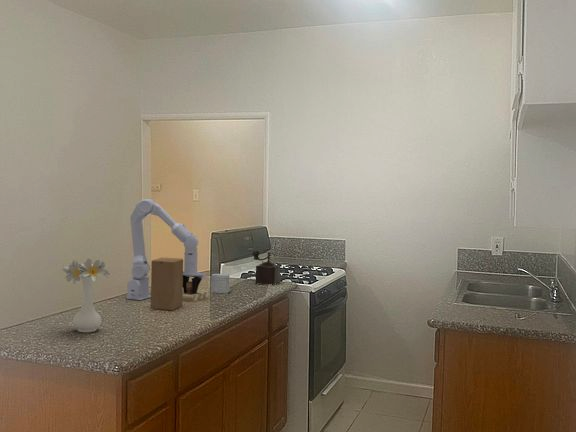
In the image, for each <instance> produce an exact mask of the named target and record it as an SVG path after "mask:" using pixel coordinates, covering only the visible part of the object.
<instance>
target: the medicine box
mask: <svg viewBox="0 0 576 432" xmlns="http://www.w3.org/2000/svg"><path fill="white" fill-rule="evenodd" d="M210 283H211V284H210V287H211V289H210V292H211V294H229V292H230V274H227V273H226V274H225V273H213V274H212V275H211V281H210Z"/></svg>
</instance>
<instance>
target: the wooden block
mask: <svg viewBox="0 0 576 432" xmlns="http://www.w3.org/2000/svg"><path fill="white" fill-rule="evenodd" d="M150 271H151V272H150V274H151V275H150V295H151V297H150V309H153V310H161V309H162V310H161V311H163V310H164V311H175V310H176V309H178V308H180V307H182V306H183V301H182V297H183V271H184V259H183V258H178V257H176V258H175V257H159V258H156V259H153V260H151V265H150Z"/></svg>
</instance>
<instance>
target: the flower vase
mask: <svg viewBox="0 0 576 432" xmlns="http://www.w3.org/2000/svg"><path fill="white" fill-rule="evenodd" d="M69 264H70V265H68V266H65V267H64V266H63V268H62V271H63V272H64V273H65V274H67V275H66V276H65V278H64V279H66V281H67V282H70V281H72V284H73V285H75V284H76V282H80V281H82V301H81V302H82V303H81V307H80V308H79V310H78V312H77V313H76V314H75V315H74V317H73V319H72V323H73V326H74V327H75V328H77V331H78V332H79V333H92V332H96V331H97V329H98V327H99V326H100V325H101V323H102V321H103V320H102V317H101V315H100V313H98V311H97V310H96V309H95V307H94V301H93V284H94V282H96V281H97V280H98V275H103V276H105V277H106V278H108V276H109V275H110V272H109V271H108V270H107V269H105V266H106V264H105V262H104V260H102V261H101V260H100V257H99V258H97V260H95V261H94V262H93V261H92V259H91V258H87V259H86V260H85V261H84V262H83V263H79V262H78V260H77V258H76V259H73V260H71V261H70V263H69Z"/></svg>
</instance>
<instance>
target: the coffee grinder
mask: <svg viewBox="0 0 576 432" xmlns="http://www.w3.org/2000/svg"><path fill="white" fill-rule="evenodd" d="M259 255H260V251H259V250H257V249H256V250H252V256H253V260H256V261H262V262H261V263H259V264H258V265H255V284H256V283H261V284H260V285H264V284H272V285H271V286H274V285H273V284H275V283H278V284H280V283H281V265H280V264H274V263H273V262H271V261H270V256H271V252H270V251H268V252H267V255H266V257H263V258H259ZM264 260H267V261H264Z"/></svg>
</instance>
